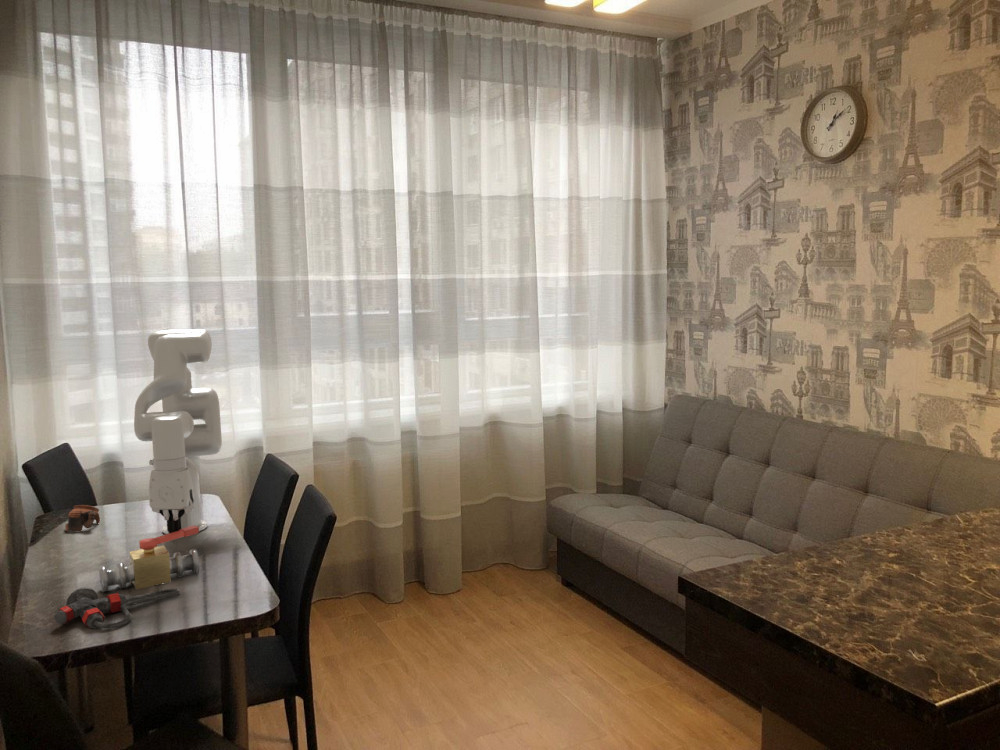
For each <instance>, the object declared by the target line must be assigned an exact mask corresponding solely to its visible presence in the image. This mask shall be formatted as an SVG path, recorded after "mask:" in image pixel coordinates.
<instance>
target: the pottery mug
mask: <svg viewBox="0 0 1000 750" xmlns="http://www.w3.org/2000/svg"><path fill="white" fill-rule="evenodd" d="M99 512H100V509H99V508H98V507H95V506H93V505H87V504H86V505H85V504H77V505H73V506H72V510H70V511H69V512H68V514H67V516H68V518H67V519H68V520H67V522H68V523H65V531H66V530H67V531H66V532H77V531H81V530H82V531H83V527H84V528H85V529H91V528H93V525H94V522H95V524H96V523H99V524H100V523H101V522H100V521H101V517H100V513H99Z"/></svg>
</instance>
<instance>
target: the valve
mask: <svg viewBox="0 0 1000 750" xmlns="http://www.w3.org/2000/svg"><path fill="white" fill-rule="evenodd" d="M180 593H181V592H180V590H178V588H177V587H171V588H168V589H167V588H166V589H163V590H157V591H153V592H148V593H143V594H138V595H134V596H129V597H126V596H125V594H122V593H120V594H119V592H115V593H111V594H108V595H107V596H106V597H102V598H101V597H100V598H99V595H98V593H97V591H95V589H93V588H91V587H88V586H87V587H80V588H78V589H75V590H73V592H71V593H70V595H69V596H67V597H68V598H67V599H66V601H65V602H66V605H65V606H63V607H60V608H58V610H57V611H56V612H54V616H53V617H54V621H55V622H56V623H57V624H59V625H65V624H67V623H69V622H71V621H72V620H73V619H75V618H77V617H80V618H81V621H82V622H83V624H84V625H85V626H86V627H87V628H88V629H89V628H90V629H97V628H101V629H114V628H119V627H122V626H125V625H127V623H129V622H130V621H131V620H132V614H131V612H130V611H129V610H128V608H127V607H131V606H134V605H139V604H143V603H147V602H152V601H158V600H162V599H165V598H172V597H175V596H180ZM121 611H122V613H123V615H125V618H124V619H123V620H121V621H117V622H113V623H104V620H105V619H106V616H105V615H104V614H107V613H108V614H114V613H119V612H121Z"/></svg>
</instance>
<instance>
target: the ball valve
mask: <svg viewBox="0 0 1000 750" xmlns="http://www.w3.org/2000/svg"><path fill="white" fill-rule="evenodd" d="M199 557H200V556H199V553H198V550H197V549H196V548H195V549H190V550H189V553H188V554H185V555H184V554H183V555H182V554H181V552H179V551H178V552H174V553H173V555H172V557H170V552H169V551H168V549H167V548H166V547H165V545H160V546H158V545H157V547H154V548H151V549H137V550H132V551H131V550H130V551H129V563H130V564H129V565H126V566H125V563H124V562H120V563H119V562H118V563H117V564H116V567H115V568H109V569H107V567H106V565H101V566H99V568H98V569H99V570H98V572H99V583H100V590H101V592H102V593H105V592H109V587H113V586H119V589H124V588H127V584H128V583H132V585H133V587H134V589H135V590H136V589H137V590H141V589H146V588H150V586H151V587H155V586H154V585H156V586H159V585H158V584H161V585H163V584H162V583H166V584H170V583H169V582H171V583H172V577H171V575H174V574H175V577H176V576H177V577H176V578H179V577H183V575H184V572H189V571H191V573H192V574H193V575H194V574H198V573H200V567H201V566H200V559H199Z"/></svg>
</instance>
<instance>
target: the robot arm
mask: <svg viewBox="0 0 1000 750" xmlns="http://www.w3.org/2000/svg"><path fill="white" fill-rule="evenodd" d="M212 342H213V341H212V337H211V335H210V333H209V331H207V330H206V329H203V328H202V329H201V328H200V329H199V328H198V329H197V328H196V329H168V330H158V331H155V332H152V333H150V334H149V336H148V338H147V345H148V349H149V354H150V355H151V358H152V360H153V380H152V381H151V382H150V383H149V384H147V385H146V387H145V388H143V390H142V391H141V393H139V396H137V399H136V401H135V405H134V414H133V415H134V417H133V418H134V420H133V428H134V430H133V431H134V435H135V437H136V438H137V439H138V440H139V441H141V442H152V454H153V455H152V456H153V457H152V459H150V460H149V461H148V463H149V466H153V469H152V470H151V471H150V476H149V483H148V484H149V485H148V486H149V487H148V503H149V504H148V505H149V507H150V508H151V511H152V512H153V513H157V514H160V515H161V516H162V517H163V519H164V520H165V521H166V524H165V525H163V526H162V528H161V529H162V533H163V534H164V535H166V534H169V533H173V532H176V531H179V529H182V528H186V527H189V526H192V525H194V526H198V527H199V532H200V531H203V530H206V528H207V527H208V522H207V521H206V520H204V519H202V510H201V509H202V508H201V493H200V478H199V475H200V474H199V470H198V467H197V466H196V465H195V464H194V462H192V460H191V459H190V458H192V457H203V456H213V455H216V454H218V453H219V452H221V449H222V445H223V444H222V425H221V410H220V409H221V408H220V401H219V396H218V393H217V391H216V390H215V389H213V388H210V387H198V388H196V387H195V388H194V387H193V385H192V384H193V383H192V382H193V381H192V373H191V370H190V368H189V367H188V366H187V364H202V363H206V362H208V361H209V359H210V356H211V353H212V346H213V345H212V344H213V343H212ZM159 401H161V402H162V404H161V405H162V406H161V407H162V411H153V412H152V411H151V412H148V410H149V409H150V408H151V407H152V406H153V405H154V404H156V403H157V402H159ZM197 420H199V421H200V420H201V421H204V423H197V424H195V423H194V421H197Z"/></svg>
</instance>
